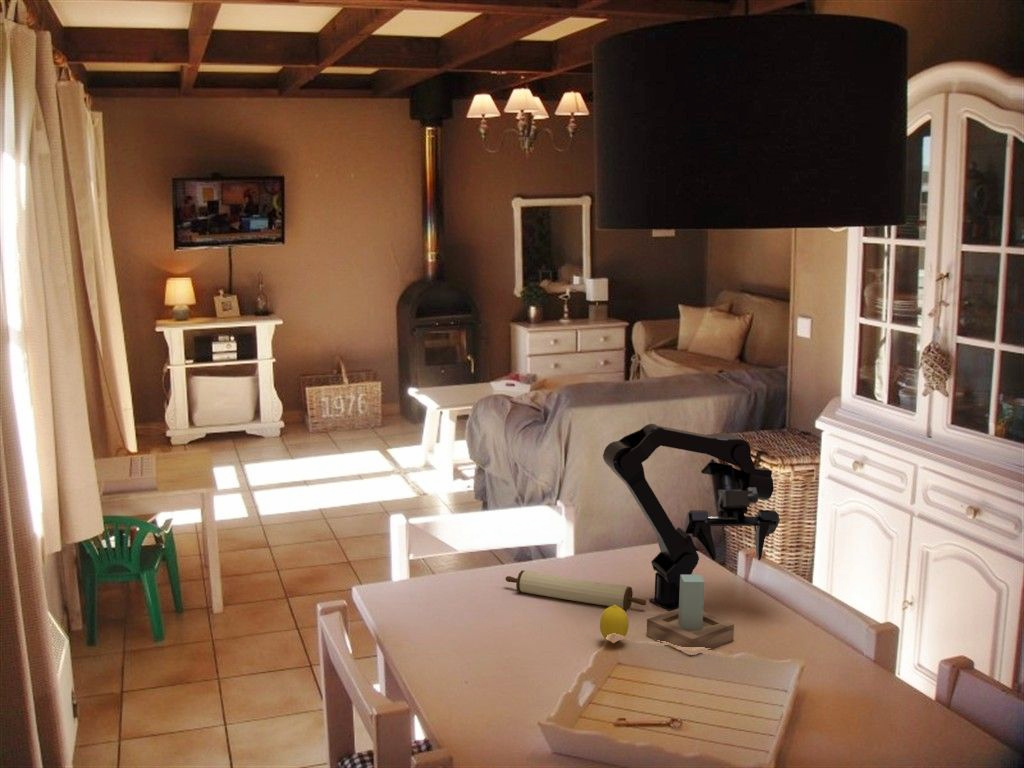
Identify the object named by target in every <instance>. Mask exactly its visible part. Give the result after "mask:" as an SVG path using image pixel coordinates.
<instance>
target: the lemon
mask: <svg viewBox="0 0 1024 768" xmlns="http://www.w3.org/2000/svg"><path fill="white" fill-rule="evenodd" d="M599 622H600V623H599V629H600V632H601V636H602V637H603V638H604V639H605V640H606V637H607V635H609V634H612V633H616V634H620V635H623V636H625V637H626V636H627V635H628V631H629V625H630V624H629V617H628V615H627V613H626V610H624V608H620V607H618V606H617V605H613V606H607V608H605V609H604V610H603V612H602V613H601V617H600V620H599Z"/></svg>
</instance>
